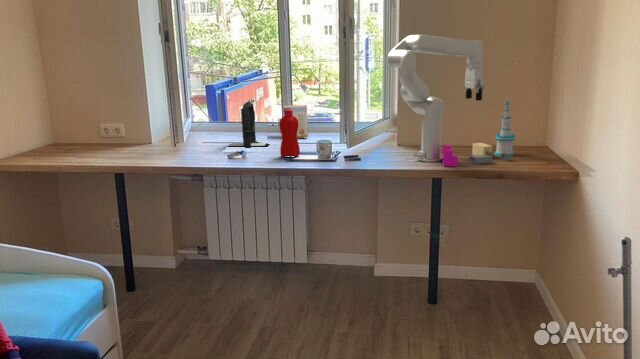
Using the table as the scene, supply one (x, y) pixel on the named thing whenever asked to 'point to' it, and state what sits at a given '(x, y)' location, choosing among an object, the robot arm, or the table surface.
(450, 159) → the toy block
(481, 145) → the yellow rectangular block
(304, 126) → the cracker box
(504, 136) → the model tower
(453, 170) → the table surface
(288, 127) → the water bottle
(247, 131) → the black upright stand
